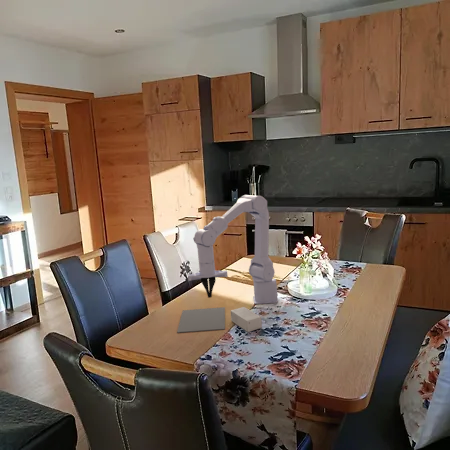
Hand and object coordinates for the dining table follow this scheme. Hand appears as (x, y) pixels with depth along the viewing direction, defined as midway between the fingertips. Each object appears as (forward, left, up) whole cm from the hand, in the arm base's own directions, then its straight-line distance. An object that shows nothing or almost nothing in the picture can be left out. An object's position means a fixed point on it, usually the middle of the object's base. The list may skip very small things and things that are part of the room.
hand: (209, 296), depth 156 cm
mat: (+3, 0, -9) cm, 10 cm away
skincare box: (-10, +2, -7) cm, 12 cm away
